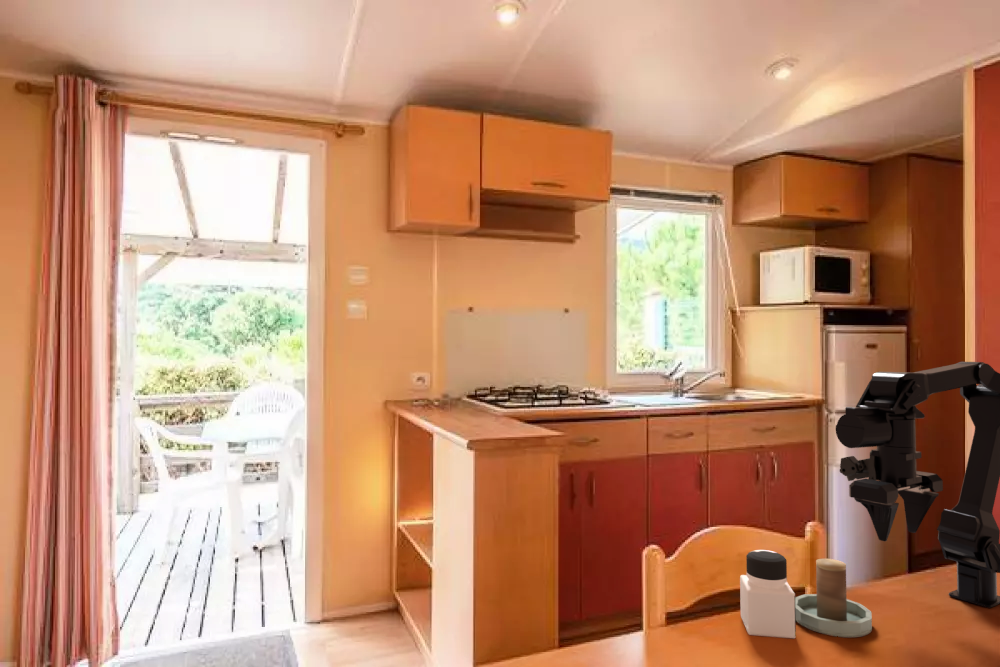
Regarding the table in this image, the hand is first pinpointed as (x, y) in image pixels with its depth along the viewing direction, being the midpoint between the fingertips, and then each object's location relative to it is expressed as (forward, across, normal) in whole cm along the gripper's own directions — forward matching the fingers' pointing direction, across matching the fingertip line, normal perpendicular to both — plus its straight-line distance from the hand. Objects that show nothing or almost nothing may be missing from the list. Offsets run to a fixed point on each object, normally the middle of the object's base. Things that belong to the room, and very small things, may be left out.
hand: (897, 536), depth 108 cm
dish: (+13, +13, -4) cm, 19 cm away
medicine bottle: (+13, +24, -8) cm, 29 cm away
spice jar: (+12, +13, -4) cm, 18 cm away
